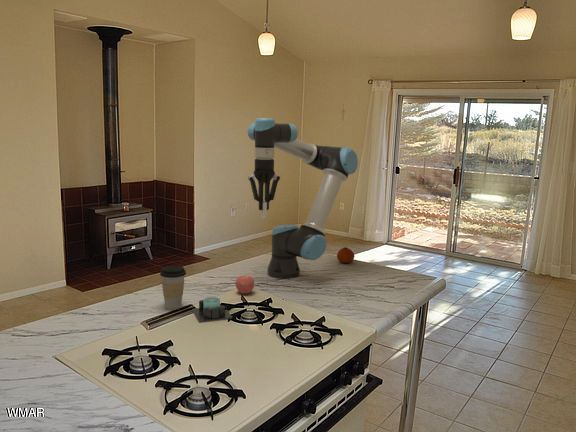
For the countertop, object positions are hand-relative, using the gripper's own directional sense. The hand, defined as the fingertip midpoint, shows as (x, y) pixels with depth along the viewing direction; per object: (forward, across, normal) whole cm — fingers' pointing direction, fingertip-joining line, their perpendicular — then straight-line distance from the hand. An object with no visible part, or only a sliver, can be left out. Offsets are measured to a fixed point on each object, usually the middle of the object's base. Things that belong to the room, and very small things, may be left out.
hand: (263, 217), depth 190 cm
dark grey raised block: (+31, -25, -16) cm, 43 cm away
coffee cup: (+31, -37, -4) cm, 48 cm away
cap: (+31, -25, -16) cm, 43 cm away
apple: (+32, -7, +2) cm, 33 cm away
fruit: (+33, +56, +31) cm, 72 cm away
